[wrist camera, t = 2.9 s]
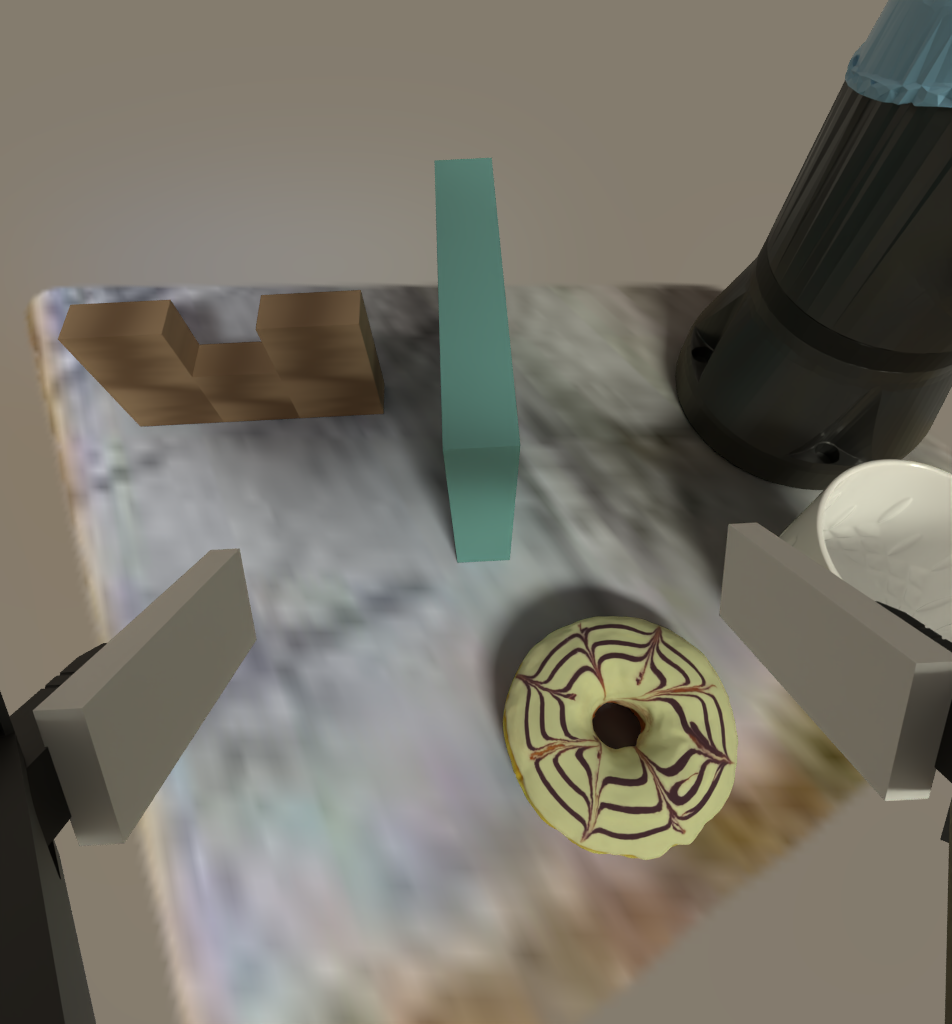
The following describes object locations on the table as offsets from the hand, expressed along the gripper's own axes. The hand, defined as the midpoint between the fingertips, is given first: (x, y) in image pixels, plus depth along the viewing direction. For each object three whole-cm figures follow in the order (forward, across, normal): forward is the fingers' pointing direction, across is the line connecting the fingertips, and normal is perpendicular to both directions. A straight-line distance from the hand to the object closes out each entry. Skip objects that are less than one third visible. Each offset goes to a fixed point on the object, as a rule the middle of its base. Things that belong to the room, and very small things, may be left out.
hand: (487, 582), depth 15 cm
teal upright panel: (+22, 0, 0) cm, 23 cm away
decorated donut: (+10, +6, -13) cm, 18 cm away
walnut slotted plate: (+25, -14, +2) cm, 28 cm away
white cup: (+13, +17, -9) cm, 24 cm away
